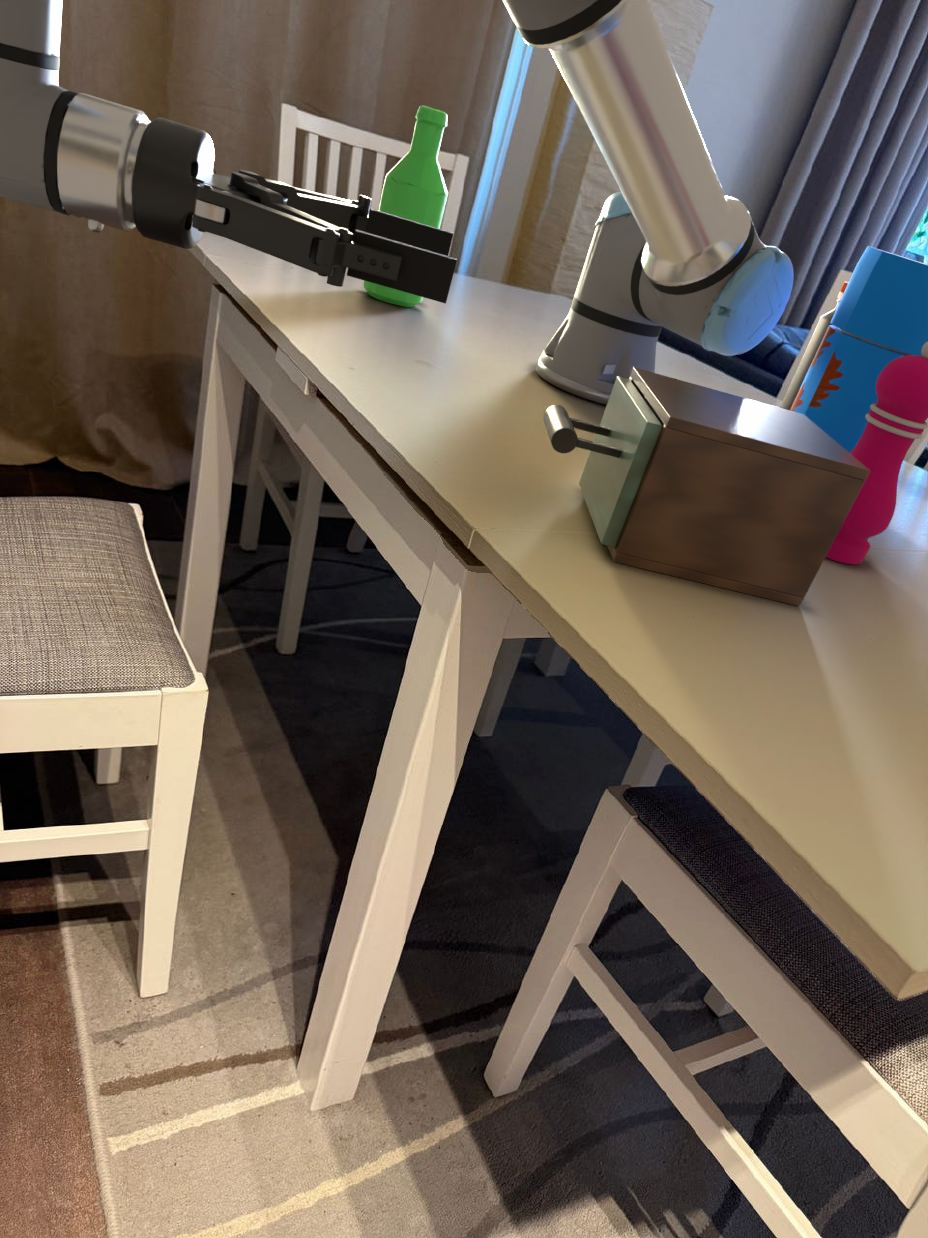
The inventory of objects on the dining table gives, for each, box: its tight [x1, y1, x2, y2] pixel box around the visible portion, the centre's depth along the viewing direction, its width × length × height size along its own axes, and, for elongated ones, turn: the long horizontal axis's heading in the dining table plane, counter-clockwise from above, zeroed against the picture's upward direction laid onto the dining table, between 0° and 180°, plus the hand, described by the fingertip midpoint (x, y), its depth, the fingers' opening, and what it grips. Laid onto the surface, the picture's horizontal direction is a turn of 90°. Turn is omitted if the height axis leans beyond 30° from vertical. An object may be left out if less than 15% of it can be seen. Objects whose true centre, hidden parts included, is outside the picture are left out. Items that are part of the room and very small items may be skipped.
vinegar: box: [779, 281, 849, 410], centre depth 125 cm, size 7×7×20 cm
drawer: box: [542, 376, 664, 547], centre depth 71 cm, size 20×12×10 cm, turn 91°
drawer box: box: [606, 367, 870, 607], centre depth 72 cm, size 16×14×12 cm
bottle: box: [363, 105, 449, 308], centre depth 124 cm, size 9×9×25 cm
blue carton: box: [790, 245, 928, 453], centre depth 94 cm, size 11×11×25 cm
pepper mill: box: [825, 342, 928, 566], centre depth 80 cm, size 7×7×20 cm
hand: (450, 265), depth 63 cm, fingers open, 13 cm apart
